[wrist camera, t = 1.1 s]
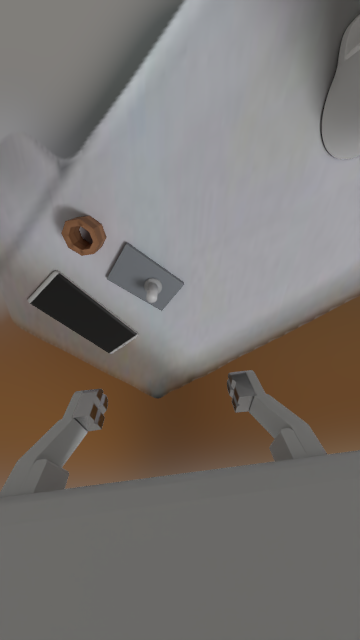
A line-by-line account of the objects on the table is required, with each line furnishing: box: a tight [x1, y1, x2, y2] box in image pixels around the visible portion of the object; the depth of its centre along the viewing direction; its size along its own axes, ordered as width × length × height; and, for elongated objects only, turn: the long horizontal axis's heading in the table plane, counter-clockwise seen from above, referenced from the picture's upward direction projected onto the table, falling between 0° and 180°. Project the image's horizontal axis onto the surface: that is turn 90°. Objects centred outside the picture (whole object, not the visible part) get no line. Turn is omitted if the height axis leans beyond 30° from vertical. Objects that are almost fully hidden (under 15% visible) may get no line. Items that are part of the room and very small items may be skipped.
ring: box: [61, 216, 106, 256], centre depth 34 cm, size 6×6×5 cm
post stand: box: [107, 243, 184, 311], centre depth 40 cm, size 10×16×7 cm, turn 52°
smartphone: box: [28, 270, 138, 354], centre depth 49 cm, size 13×27×2 cm, turn 37°
